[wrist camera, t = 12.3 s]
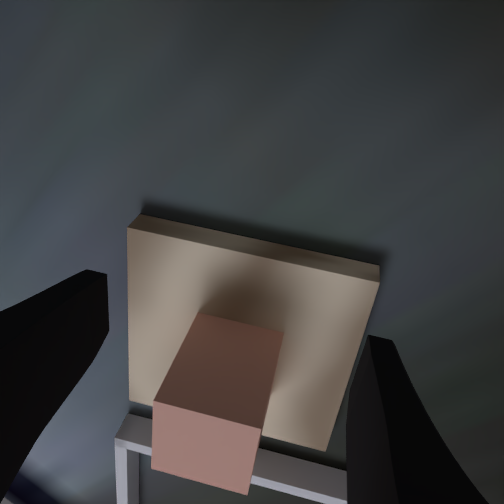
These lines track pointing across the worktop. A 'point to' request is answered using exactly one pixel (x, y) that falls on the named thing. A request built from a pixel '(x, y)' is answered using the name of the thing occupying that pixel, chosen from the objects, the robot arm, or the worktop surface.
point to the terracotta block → (215, 403)
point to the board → (249, 314)
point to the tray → (264, 473)
